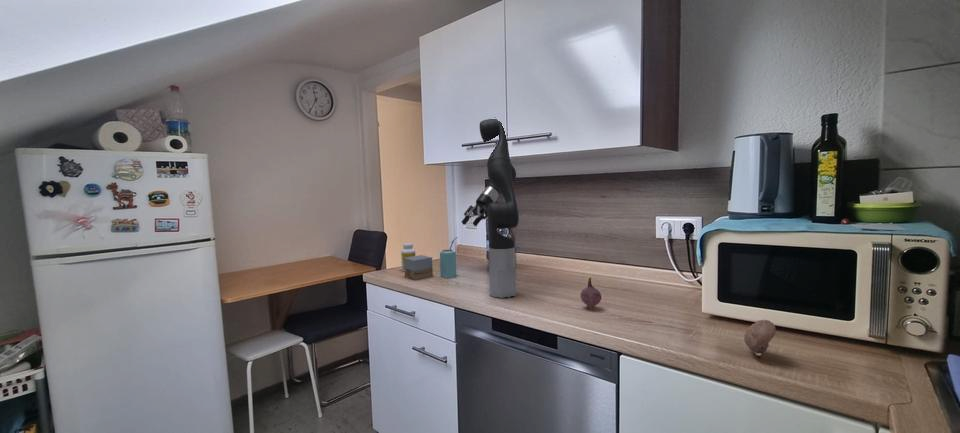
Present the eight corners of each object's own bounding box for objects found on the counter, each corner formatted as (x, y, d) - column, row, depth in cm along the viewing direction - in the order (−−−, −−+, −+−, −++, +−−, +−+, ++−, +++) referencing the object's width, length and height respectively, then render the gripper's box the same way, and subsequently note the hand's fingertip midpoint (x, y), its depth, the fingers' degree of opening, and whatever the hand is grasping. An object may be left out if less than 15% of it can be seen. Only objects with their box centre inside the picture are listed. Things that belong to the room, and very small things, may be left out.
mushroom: (768, 366, 76) (770, 329, 75) (735, 355, 81) (736, 320, 80) (781, 356, 80) (783, 320, 79) (748, 346, 85) (749, 313, 84)
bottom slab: (432, 277, 160) (432, 267, 160) (414, 281, 154) (414, 271, 154) (422, 274, 167) (422, 264, 167) (404, 277, 161) (404, 267, 161)
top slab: (432, 267, 160) (432, 257, 159) (414, 271, 154) (414, 260, 154) (421, 264, 167) (421, 255, 166) (404, 267, 161) (403, 257, 160)
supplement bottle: (417, 271, 172) (416, 244, 171) (403, 272, 170) (402, 245, 169) (414, 268, 178) (413, 242, 177) (400, 269, 176) (399, 243, 175)
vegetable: (576, 306, 116) (576, 275, 115) (592, 304, 118) (592, 273, 118) (588, 312, 111) (588, 280, 110) (605, 309, 113) (605, 278, 112)
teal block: (456, 276, 159) (455, 252, 159) (446, 278, 156) (446, 253, 156) (450, 274, 163) (449, 250, 163) (440, 276, 160) (439, 252, 159)
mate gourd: (438, 265, 184) (437, 236, 182) (453, 264, 187) (452, 235, 186) (443, 268, 177) (442, 238, 176) (458, 266, 180) (457, 236, 179)
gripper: (473, 192, 175) (454, 218, 169) (492, 192, 164) (473, 220, 158) (482, 203, 179) (464, 228, 173) (501, 204, 168) (482, 230, 162)
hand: (468, 224), depth 165 cm, fingers open, 8 cm apart
